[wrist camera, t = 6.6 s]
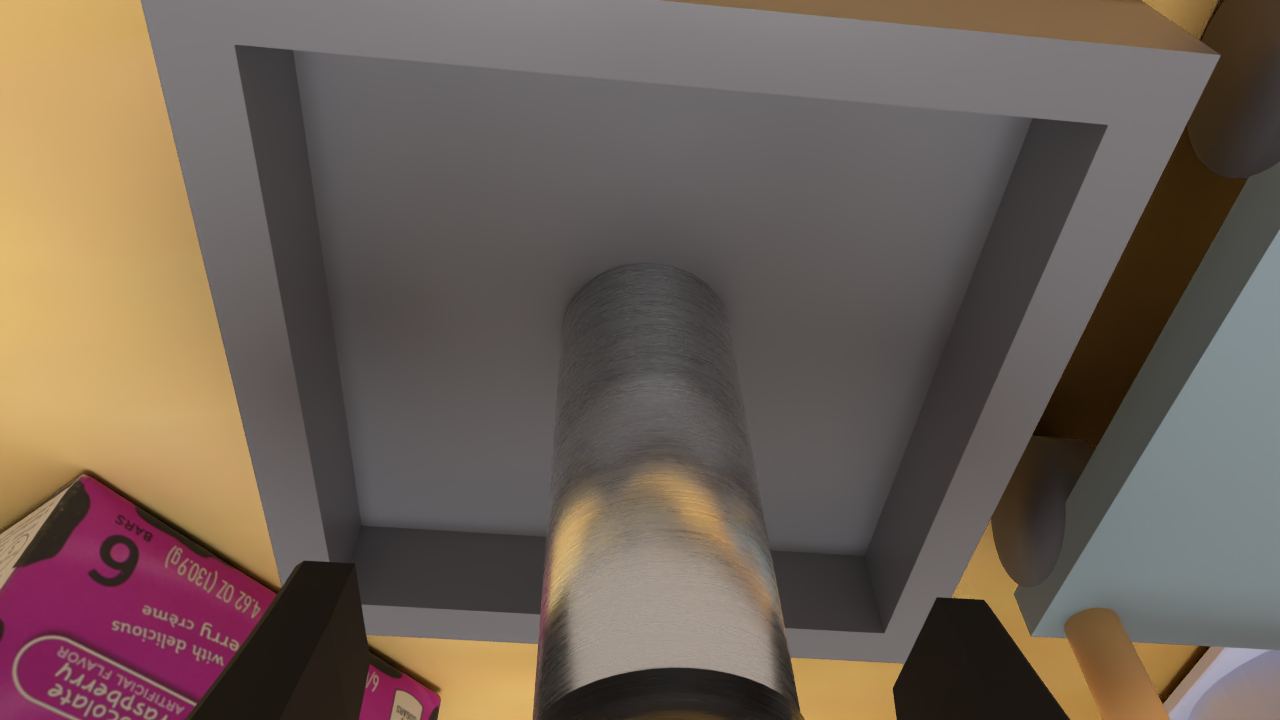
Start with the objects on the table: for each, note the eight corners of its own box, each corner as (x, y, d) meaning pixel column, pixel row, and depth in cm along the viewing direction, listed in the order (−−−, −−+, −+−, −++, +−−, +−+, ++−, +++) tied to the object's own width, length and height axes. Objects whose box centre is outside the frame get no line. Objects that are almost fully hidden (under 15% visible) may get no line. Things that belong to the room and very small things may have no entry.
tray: (888, 559, 21) (918, 664, 19) (329, 525, 20) (292, 630, 18) (1124, -12, 13) (1220, 54, 11) (218, -104, 12) (128, -52, 10)
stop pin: (713, 408, 17) (788, 933, 10) (551, 393, 17) (509, 925, 10) (749, 270, 15) (870, 794, 8) (567, 250, 15) (527, 777, 8)
